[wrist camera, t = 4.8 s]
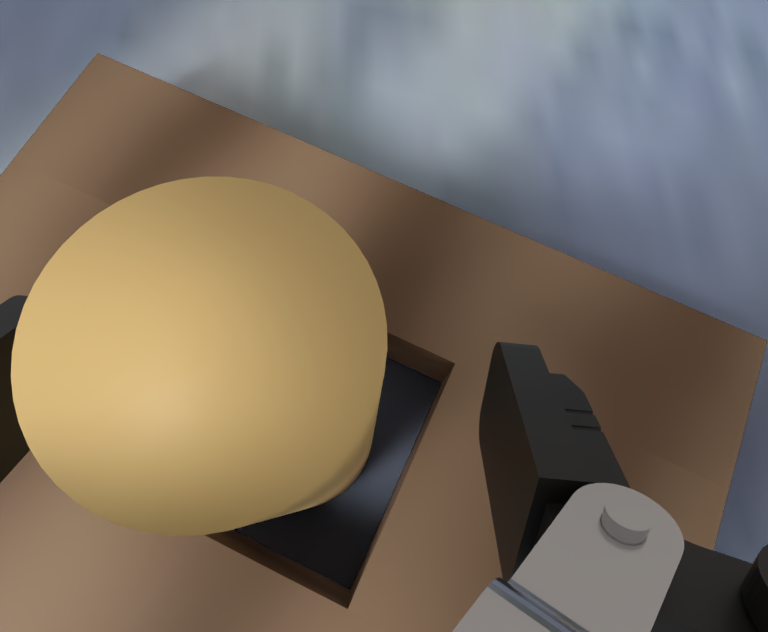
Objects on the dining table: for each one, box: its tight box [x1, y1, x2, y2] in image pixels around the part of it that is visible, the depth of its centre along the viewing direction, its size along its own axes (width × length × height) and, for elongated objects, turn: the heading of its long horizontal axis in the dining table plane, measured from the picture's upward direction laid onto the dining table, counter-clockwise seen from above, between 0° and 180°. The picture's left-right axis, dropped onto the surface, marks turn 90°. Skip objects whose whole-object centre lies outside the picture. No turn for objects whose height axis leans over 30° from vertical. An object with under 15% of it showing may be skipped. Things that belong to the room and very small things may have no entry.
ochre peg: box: [11, 177, 387, 536], centre depth 11 cm, size 4×4×10 cm
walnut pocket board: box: [0, 53, 767, 632], centre depth 14 cm, size 20×14×2 cm
